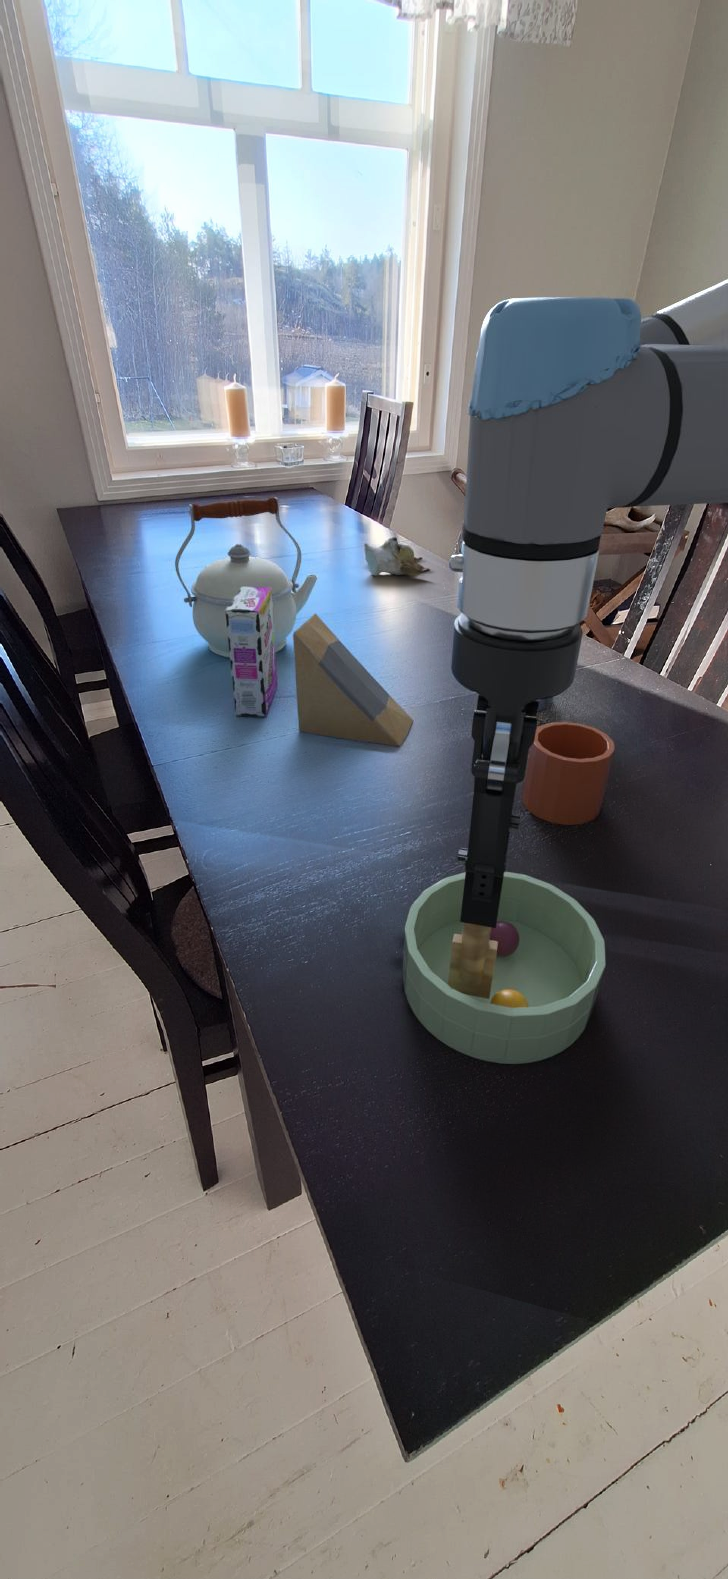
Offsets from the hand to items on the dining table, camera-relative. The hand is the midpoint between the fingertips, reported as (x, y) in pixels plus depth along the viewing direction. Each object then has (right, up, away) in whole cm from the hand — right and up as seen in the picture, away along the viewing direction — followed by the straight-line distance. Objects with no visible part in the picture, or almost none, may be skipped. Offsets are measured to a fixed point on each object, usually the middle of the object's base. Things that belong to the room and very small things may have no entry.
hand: (480, 908), depth 54 cm
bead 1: (+4, -4, +9) cm, 11 cm away
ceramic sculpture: (-2, +60, +109) cm, 124 cm away
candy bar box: (-26, +23, +54) cm, 64 cm away
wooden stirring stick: (0, -8, +5) cm, 10 cm away
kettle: (-29, +36, +74) cm, 87 cm away
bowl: (+3, -8, +8) cm, 12 cm away
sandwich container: (-10, +18, +48) cm, 52 cm away
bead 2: (+3, -9, +3) cm, 10 cm away
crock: (+14, +6, +30) cm, 33 cm away
